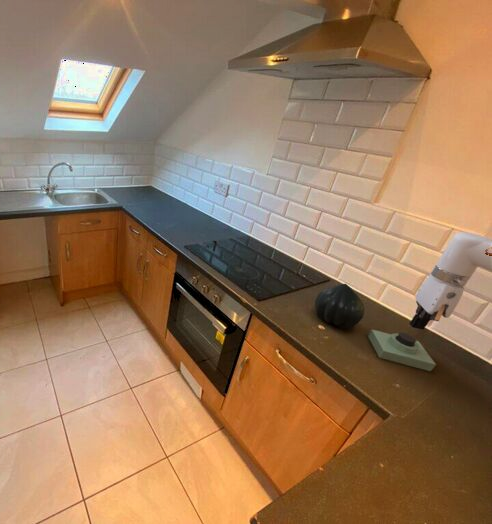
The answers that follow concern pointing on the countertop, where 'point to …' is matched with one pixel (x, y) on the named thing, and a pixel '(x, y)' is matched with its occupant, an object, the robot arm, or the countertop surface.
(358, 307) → the squash
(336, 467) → the countertop surface
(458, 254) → the robot arm
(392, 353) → the knob plate
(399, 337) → the button
